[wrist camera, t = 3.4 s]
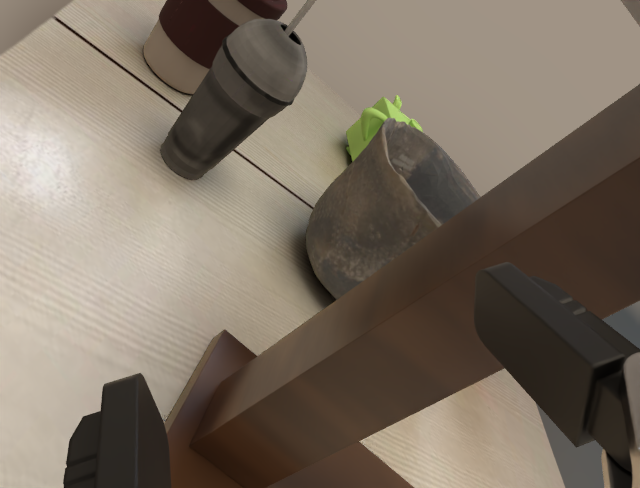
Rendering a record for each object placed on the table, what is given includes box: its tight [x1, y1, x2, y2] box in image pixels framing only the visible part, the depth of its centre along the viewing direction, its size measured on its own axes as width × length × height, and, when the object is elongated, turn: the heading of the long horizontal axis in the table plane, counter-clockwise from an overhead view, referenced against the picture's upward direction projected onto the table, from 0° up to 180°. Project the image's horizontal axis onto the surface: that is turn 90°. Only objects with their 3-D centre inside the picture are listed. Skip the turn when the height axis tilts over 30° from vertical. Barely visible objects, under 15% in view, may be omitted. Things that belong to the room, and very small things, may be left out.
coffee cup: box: [143, 0, 287, 94], centre depth 51 cm, size 10×10×15 cm
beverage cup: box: [160, 0, 316, 180], centre depth 42 cm, size 7×7×20 cm
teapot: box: [346, 95, 423, 162], centre depth 75 cm, size 15×13×11 cm
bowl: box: [306, 117, 480, 300], centre depth 51 cm, size 18×18×15 cm
